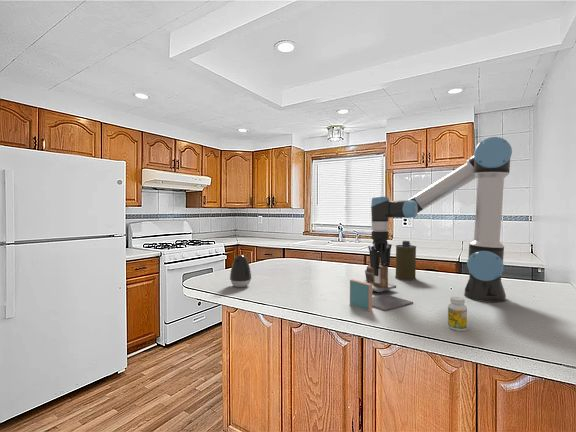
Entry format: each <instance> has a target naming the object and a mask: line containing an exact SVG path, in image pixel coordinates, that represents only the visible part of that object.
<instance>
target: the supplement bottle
mask: <svg viewBox="0 0 576 432" xmlns="http://www.w3.org/2000/svg"><path fill="white" fill-rule="evenodd" d="M465 301H466V300H465V298H463V297H459V296H451V297H450V300H449V302H450V303H448V306H447V327H448V328H449V329H451V330H453V331H458V332H463V331H466V330H467V327H468V325H467V324H468V323H467V322H468V308H467V306H466V305H465Z"/></svg>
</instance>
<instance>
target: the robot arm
mask: <svg viewBox="0 0 576 432" xmlns="http://www.w3.org/2000/svg"><path fill="white" fill-rule="evenodd" d="M512 149H513V147H512V145H511V144H510V142H508V141H507V140H506V139H504V138H502V137H498V136H490V137H486V138H484V139H483V140H481V141H480V142H479V143H478V144H477V145H476V147H475V148H474V151H473V152H474V153H473V155H472V156H471V157H470V158H467V159H466V160H465V161H466V162H465V163H464V164H463V165H461V166H459V167H458V168H455V170H453V171H452V172H450V173H448V174H447V175H445V176H444V177H442V178H441V179H439V180H437V181H436V182H434V183H433V184H430V185H429V186H428V187H427V188H425V189H423V190H422V191H420V192H418V193H417V194H415V195H413V196H412V197H410V198H408V199H407V200H390V199H389V196H373V197H372V198H371V203H370V204H371V206H370V209H371V210H370V212H371V230H372V231H371V240H373V241H372V245H369V246H368V247H367V248H368V251H369V264H370V266H371V267H372V268H374V276H375V283H379V284H380V283H381V279H380V269H379V264H380V262H381V266H386V267H388V268H389V266H390V265H391V264H390V263H391V249H392V244H390V243H388V240H389V239H390V236H389V235H390V233H389V230H390V228H389V226H390V221H389V218H390V219H392V218H397V219H398V218H400V219H402V218H403V219H413V218H416V217H417V216H418V213H420V212H422V211H424V210H426V208H429V207H430V206H432V205H434V204H435V203H437V202H438V201H441V199H444V198H445V197H447V196H449V195H450V194H453V192H455V191H457V190H458V189H461V188H462V187H463V186H464V187H465V186H466V185H467V184H469V183H471V182H472V181H473V180H474V181H475V180H476V179H477V185H476V187H477V188H476V202H475V203H476V205H475V218H474V230H473V233H474V234H473V235H474V236H473V240H471V241H470V242H469V243H468V244H469V245H468V258H467V260H466V267H467V270H468V272H469V273H468V274H469V275H468V276H469V278H468V280H467V283H466V285H465V288H464V292H463V293H464V294H463V295H464V296H465V297H466V298H468V299H471V300H474V301H479V302H483V303H484V302H486V303H503V302H506V299H507V295H506V294H507V293H506V291H505V288H504V285H503V282H502V274H503V273H504V270H505V265H504V255H505V253H504V251H505V246H504V245H503V244H502V242H501V229H502V228H501V227H502V212H503V199H504V198H503V197H504V185H505V178H506V177H507V176H509V174H510V169H511V157H512V154H513V150H512ZM376 265H377V266H376Z"/></svg>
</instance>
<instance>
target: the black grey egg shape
mask: <svg viewBox="0 0 576 432" xmlns="http://www.w3.org/2000/svg"><path fill="white" fill-rule="evenodd" d="M250 267H251V266H250V264H249V261H248V259H247V257H246V256H245V255H243V254H239V255H237V256H236V257H234V260H233V262H232V264H231V269H230V273H229V274H230V275H229V280H230V282H231V284H232V285H233V286H234V287H235V288H246V287H247V286H249V285H250V284H251V280H252V271H251V268H250Z"/></svg>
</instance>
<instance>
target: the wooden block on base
mask: <svg viewBox="0 0 576 432" xmlns="http://www.w3.org/2000/svg"><path fill="white" fill-rule="evenodd" d="M376 266H377V265H376ZM379 269H380V279H381V283H380V284H379V283H375V276H374V268H373V282H372V292H377V293H380V292H385V291H389V290H393V289H397V285H394V284H390V283H389V267H386V266H380V265H379Z"/></svg>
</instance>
